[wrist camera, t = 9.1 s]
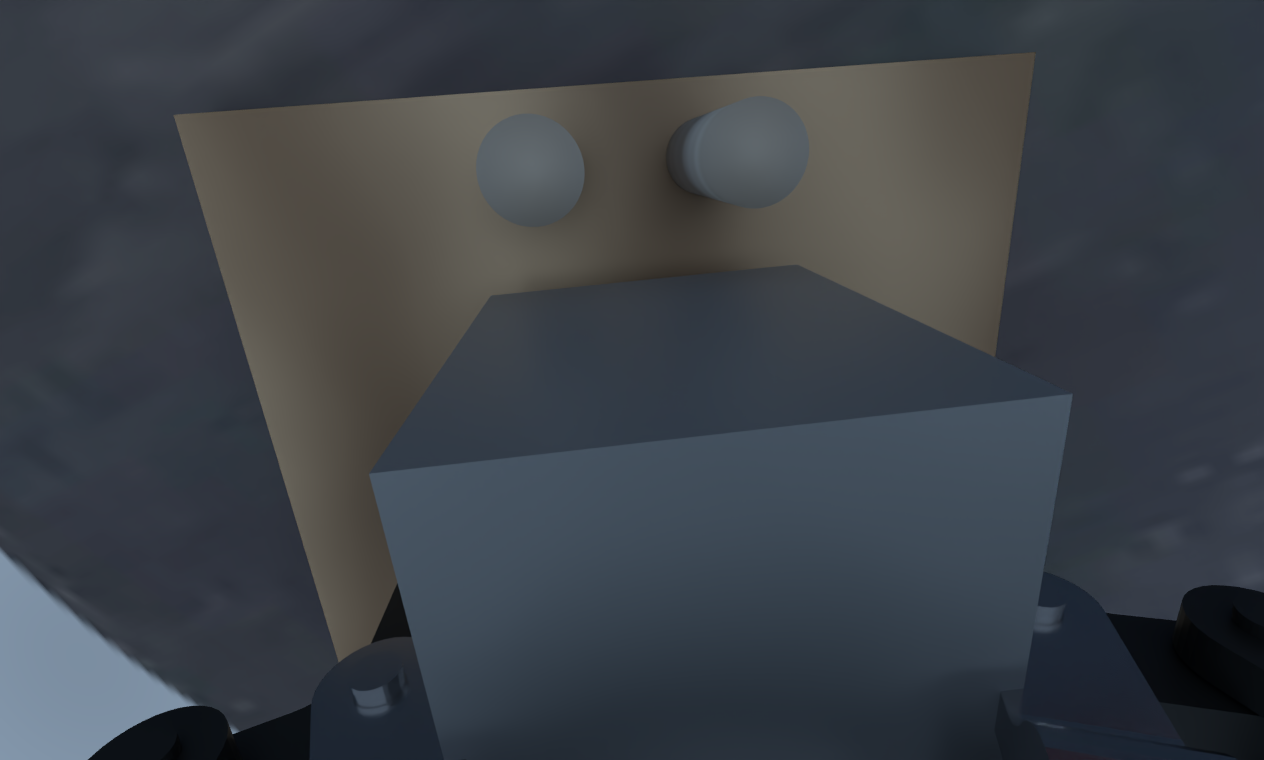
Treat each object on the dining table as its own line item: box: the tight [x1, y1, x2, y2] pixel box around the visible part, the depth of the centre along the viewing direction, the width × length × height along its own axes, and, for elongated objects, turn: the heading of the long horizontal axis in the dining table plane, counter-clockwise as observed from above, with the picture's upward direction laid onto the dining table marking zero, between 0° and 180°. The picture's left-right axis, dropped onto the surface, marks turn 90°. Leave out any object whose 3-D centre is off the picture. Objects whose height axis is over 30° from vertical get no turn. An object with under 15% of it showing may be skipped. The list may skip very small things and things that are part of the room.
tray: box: [174, 52, 1036, 662], centre depth 12 cm, size 16×14×5 cm
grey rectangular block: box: [369, 264, 1073, 760], centre depth 8 cm, size 5×8×6 cm, turn 5°
